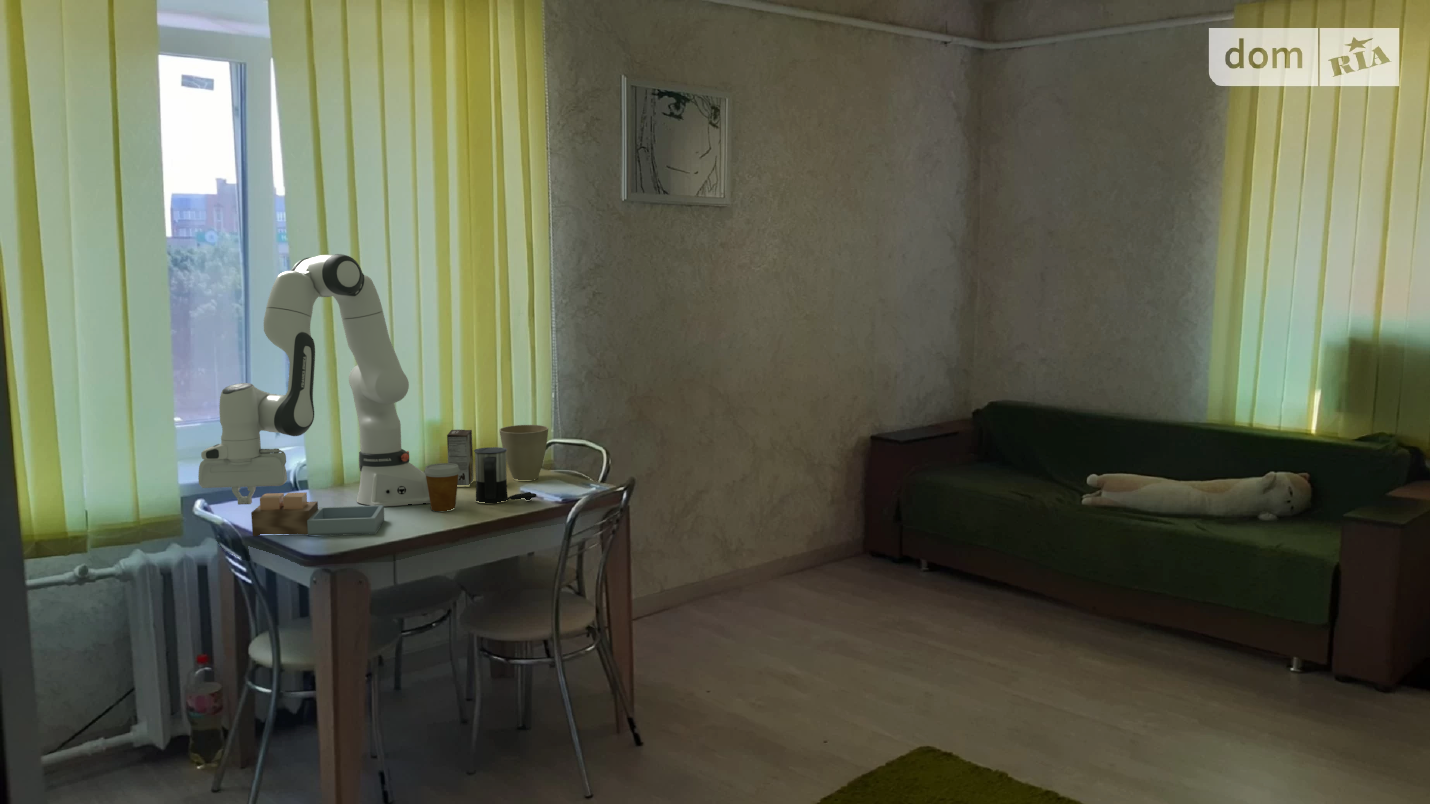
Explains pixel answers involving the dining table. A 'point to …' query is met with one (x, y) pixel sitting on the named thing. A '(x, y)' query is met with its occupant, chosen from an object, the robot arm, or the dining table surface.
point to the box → (346, 520)
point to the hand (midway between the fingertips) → (244, 504)
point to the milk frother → (493, 476)
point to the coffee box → (461, 454)
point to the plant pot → (524, 449)
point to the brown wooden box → (282, 520)
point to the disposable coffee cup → (442, 485)
